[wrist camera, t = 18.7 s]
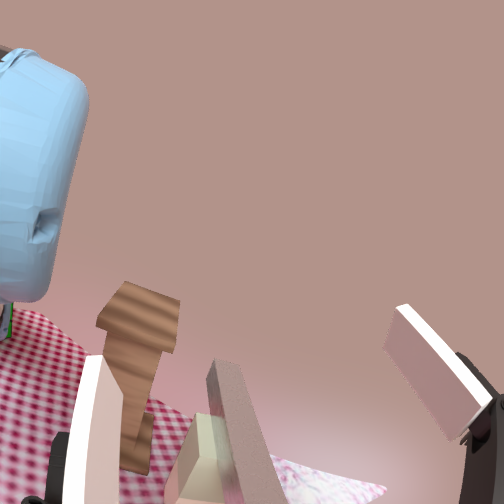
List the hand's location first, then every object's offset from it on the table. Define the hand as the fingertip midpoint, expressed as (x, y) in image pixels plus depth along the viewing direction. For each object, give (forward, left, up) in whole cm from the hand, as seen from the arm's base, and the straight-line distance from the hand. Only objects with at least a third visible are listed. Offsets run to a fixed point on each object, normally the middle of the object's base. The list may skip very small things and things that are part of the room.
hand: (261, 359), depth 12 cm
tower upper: (-10, +14, -29) cm, 34 cm away
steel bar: (-9, +14, -19) cm, 25 cm away
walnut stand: (-29, +9, -39) cm, 49 cm away
